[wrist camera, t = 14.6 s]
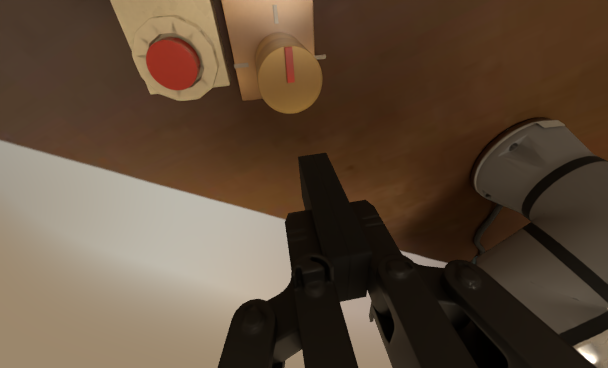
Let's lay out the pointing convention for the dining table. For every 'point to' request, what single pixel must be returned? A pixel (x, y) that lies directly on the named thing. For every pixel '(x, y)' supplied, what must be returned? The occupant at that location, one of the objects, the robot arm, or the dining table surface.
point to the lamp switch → (173, 63)
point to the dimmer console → (264, 33)
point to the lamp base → (181, 24)
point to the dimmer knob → (287, 73)
